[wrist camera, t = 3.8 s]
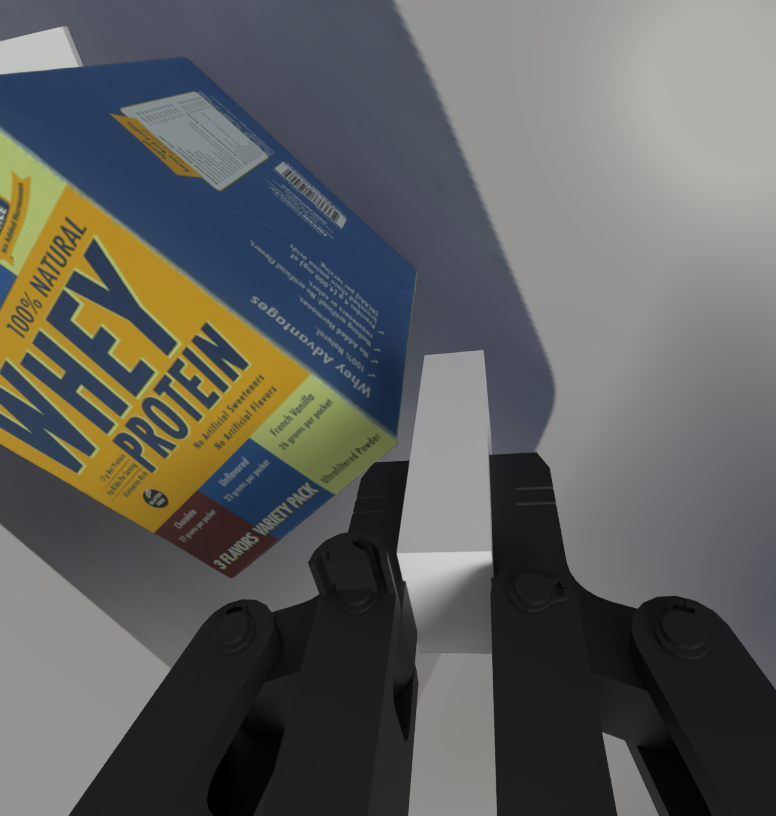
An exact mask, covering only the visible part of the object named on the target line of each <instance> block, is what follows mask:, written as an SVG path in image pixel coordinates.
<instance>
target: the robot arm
mask: <svg viewBox="0 0 776 816" xmlns="http://www.w3.org/2000/svg"><path fill="white" fill-rule="evenodd" d="M353 511H354V514H352V518H351V523H350V527H349V531H348V533H342V534H338V535H336V536H334V537H332V538H330V539H328V540H326V541H325V542H324V543H323V544H321V545H320V546H319V547H318V548H317V549H316V550H315V551H314V553H313V555H312V556H311V558H310V560H309V562H308V564H309V567H310V569H311V572H312V575H313V578H314V580H315V583H316V586H317V588H318V591H319V595H317V596H316V597H314V598H313V599H311V600H309V601H306V602H304V603H301V604H298V605H295V606H291V607H288V608H285V609H281V610H278V611H275V612H271V611H270V610H269V608H268V607H267V605H265V604H263V603H261V602H259V601H257V600H243V599H242V600H239V601H236V602H232V603H229V604H227V605H225V606H223V607H222V608H220V609H219V610H217V611H215V612H214V613H213V614H212V615H211V616H210V617H209V618H208V619H207V620H206V621H205V623H204V624H203V625H202V626H201V628H200V629H199V630H198V632H197V633H196V635H195V636H194V638H193V639H192V640H191V642H190V643H189V645H188V646H187V648H186V649H185V650H184V652H183V653H182V655H181V656H180V658H179V659H178V660H177V662H176V663H175V665H174V666H173V668H172V669H171V670H170V672H169V673H168V675H167V676H166V678H165V679H164V680H163V682H162V683H161V685H160V686H159V687H158V689H157V690H156V692H155V693H154V695H153V696H152V697H151V699H150V700H149V702H148V703H147V705H146V706H145V707H144V709H143V710H142V712H141V713H140V715H139V716H138V717H137V719H136V720H135V722H134V723H133V725H132V726H131V727H130V729H129V730H128V732H127V733H126V734H125V736H124V737H123V739H122V740H121V742H120V743H119V745H118V746H117V747H116V749H115V750H114V752H113V753H112V754H111V756H110V757H109V759H108V760H107V762H106V763H105V764H104V766H103V767H102V769H101V771H100V772H99V773H98V775H97V776H96V777H95V779H94V780H93V782H92V783H91V784H90V786H89V787H88V789H87V790H86V791H85V793H84V794H83V796H82V797H81V799H80V800H79V802H78V803H77V804H76V806H75V807H74V809H73V810H72V811H71V813H70V814H69V816H408V810H409V797H410V783H411V772H412V759H413V746H414V732H415V718H416V707H417V694H418V677H417V670H416V666H415V655H416V643H417V642H418V646H419V651H420V653H481V654H486V653H487V654H489V653H490V654H492V666H493V698H494V728H495V729H494V730H495V763H496V796H497V816H617V811H616V806H615V800H614V796H613V789H612V784H611V778H610V773H609V768H608V762H607V757H606V751H605V746H604V741H603V736H602V732H604V733H606V734H609V735H612V736H615V737H617V738H620V739H622V740H625V741H626V744H627V746H628V748H629V750H630V753H631V755H632V757H633V759H634V761H635V764H636V766H637V768H638V770H639V772H640V775H641V777H642V779H643V781H644V783H645V786H646V788H647V790H648V792H649V794H650V797H651V799H652V801H653V803H654V805H655V808H656V810H657V812H658V814H659V816H776V690H775V688H774V687H773V686H772V684H771V683H770V682H769V680H768V679H767V677H766V676H765V675H764V674H763V672H762V671H761V669H760V668H759V666H758V665H757V664H756V662H755V661H754V660H753V658H752V657H751V656H750V654H749V653H748V651H747V650H746V649H745V647H744V646H743V645H742V643H741V642H740V641H739V639H738V638H737V637H736V635H735V634H734V632H733V631H732V630H731V628H730V627H729V625H728V624H727V623H726V622H725V621H723V620H722V619H721V618H720V617H719V616H718V615H717V614H716V613H715V612H714V611H713V610H711V609H709V608H707V607H706V606H704V605H702V604H700V603H698V602H697V601H693V600H690V599H686V598H682V597H678V596H664V597H663V596H662V597H656V598H653V599H651V600H649V601H646V602H644V603H643V604H642V605H641V606H640V607H639V608H638V609H636V608H633V607H629V606H625V605H622V604H618V603H614V602H611V601H608V600H605V599H603V598H600V597H597V596H596V595H594V594H592V593H591V592H589V591H587V590H586V589H584V588H583V587H582V586H581V585H580V584H579V583H578V582H577V581H576V580H575V579H574V577H573V576H572V574H571V573H570V571H569V568H568V565H567V562H566V556H565V551H564V545H563V540H562V534H561V529H560V523H559V518H558V512H557V507H556V501H555V495H554V490H553V484H552V478H551V473H550V468H549V467H548V465H547V464H546V463H545V462H544V461H543V459H542V458H541V457H540V456H539V455H538V453H537V452H534V453H515V454H497V455H492V451H491V433H490V421H489V410H488V398H487V386H486V374H485V363H484V351H483V350H480V351H469V352H458V353H447V354H436V355H425V357H424V364H423V371H422V378H421V385H420V392H419V399H418V406H417V413H416V420H415V427H414V434H413V442H412V449H411V456H410V461H394V462H375V463H373V464H372V466H371V467H370V468H369V469H368V471H367V472H366V473H365V474H364V476H363V477H362V478H361V482H360V486H359V490H358V494H357V500H356V502H355V506H354V510H353Z"/></svg>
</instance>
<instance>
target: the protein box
mask: <svg viewBox="0 0 776 816" xmlns="http://www.w3.org/2000/svg"><path fill="white" fill-rule="evenodd" d="M416 279H417V271H416V270H415V269H414V268H413V267H412V266H411V265H410V264H409V263H408V262H407V261H406V260H405V259H404V258H402V257H401V256H400V255H399V254H398V253H397V252H396V251H395V250H394V249H393V248H391V247H390V246H389V245H388V244H387V243H386V242H385V241H384V240H383V239H382V238H380V237H379V236H378V235H377V234H376V233H375V232H374V231H373V230H372V229H371V228H370V227H369V226H368V225H366V224H365V223H364V222H363V221H362V220H361V219H360V218H359V217H358V216H357V215H356V214H354V213H353V212H352V211H351V210H350V209H349V208H348V207H347V206H346V205H345V204H344V203H343V202H341V201H340V200H339V199H338V198H337V197H336V196H335V195H334V194H333V193H332V192H331V191H330V190H328V189H327V188H326V187H325V186H324V185H323V184H322V183H321V182H320V181H319V180H318V179H317V178H316V177H315V176H314V175H313V174H311V173H310V172H309V171H308V170H307V169H306V168H305V167H304V166H303V165H302V164H301V163H300V162H299V161H297V160H296V159H295V158H294V157H293V156H292V155H291V154H290V153H289V152H288V151H287V150H286V149H285V148H284V147H283V146H282V145H280V144H279V143H278V142H277V141H276V140H275V139H274V138H273V137H272V136H271V135H270V134H269V133H268V132H267V131H266V130H265V129H264V128H262V127H261V126H260V125H259V124H258V123H257V122H256V121H255V120H254V119H253V118H252V117H251V116H250V115H249V114H247V113H246V112H245V111H244V110H243V109H242V108H241V107H240V106H239V105H238V104H237V103H236V102H234V101H233V100H232V99H231V98H230V97H229V96H228V95H227V94H226V93H225V92H224V91H223V90H221V89H220V88H219V87H218V86H217V85H216V84H215V83H214V82H213V81H212V80H211V79H210V78H208V77H207V76H206V75H205V74H204V73H203V72H202V71H201V70H200V69H199V68H197V67H196V66H195V65H194V64H193V63H192V62H191V61H190V60H189V59H187V58H186V57H177V58H167V59H157V60H145V61H136V62H124V63H114V64H104V65H92V66H82V67H72V68H59V69H50V70H42V71H29V72H18V73H9V74H0V444H2V445H3V446H5V447H6V448H8V449H10V450H11V451H13V452H15V453H17V454H18V455H20V456H22V457H24V458H25V459H27V460H29V461H31V462H32V463H34V464H36V465H38V466H39V467H41V468H43V469H45V470H46V471H48V472H50V473H52V474H54V475H55V476H57V477H58V478H60V479H62V480H63V481H65V482H67V483H69V484H71V485H72V486H74V487H76V488H77V489H79V490H80V491H82V492H84V493H86V494H88V495H89V496H91V497H92V498H94V499H95V500H97V501H99V502H101V503H102V504H104V505H106V506H108V507H109V508H111V509H113V510H115V511H116V512H118V513H120V514H121V515H123V516H125V517H127V518H128V519H130V520H132V521H134V522H135V523H137V524H139V525H140V526H142V527H144V528H146V529H147V530H149V531H151V532H153V533H155V534H157V535H159V536H160V537H162V538H164V539H166V540H168V541H169V542H171V543H173V544H174V545H176V546H178V547H179V548H181V549H183V550H185V551H186V552H188V553H189V554H191V555H192V556H194V557H196V558H198V559H199V560H201V561H202V562H204V563H206V564H207V565H209V566H210V567H212V568H214V569H216V570H217V571H219V572H221V573H222V574H224V575H226V576H228V577H229V578H233V577H235V576H236V575H237V574H239V573H240V572H241V571H242V570H244V569H245V568H246V567H247V566H249V565H250V564H251V563H252V562H254V561H255V560H256V559H257V558H259V557H260V556H261V555H263V554H264V553H265V552H266V551H267V550H269V549H270V548H271V547H272V546H273V545H275V544H276V543H277V542H278V541H279V540H281V539H282V538H283V537H284V536H285V535H287V534H288V533H289V532H290V531H291V530H293V529H294V528H295V527H296V526H298V525H299V524H300V523H301V522H303V521H304V520H305V519H306V518H308V517H309V516H310V515H311V514H312V513H314V512H315V511H316V510H317V509H318V508H319V507H321V506H322V505H323V504H324V503H326V502H327V501H328V500H329V499H331V498H332V497H333V496H334V495H336V494H337V493H338V492H340V491H341V490H342V489H343V488H344V487H346V486H347V485H348V484H349V483H351V482H352V481H353V480H354V479H355V478H357V477H358V476H359V475H360V474H362V473H363V472H364V471H365V470H366V469H368V468H369V467H370V466H372V464H373V463H375V462H377V461H378V460H379V459H380V458H381V457H382V456H383V455H385V454H386V453H387V452H388V451H389V450H390V449H392V448H393V447H394V446H395V445H396V444H397V443H398V427H399V418H400V409H401V401H402V393H403V383H404V375H405V367H406V358H407V350H408V342H409V334H410V326H411V318H412V311H413V302H414V294H415V288H416Z"/></svg>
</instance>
